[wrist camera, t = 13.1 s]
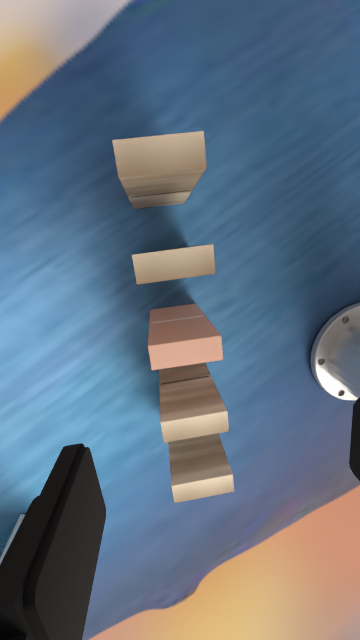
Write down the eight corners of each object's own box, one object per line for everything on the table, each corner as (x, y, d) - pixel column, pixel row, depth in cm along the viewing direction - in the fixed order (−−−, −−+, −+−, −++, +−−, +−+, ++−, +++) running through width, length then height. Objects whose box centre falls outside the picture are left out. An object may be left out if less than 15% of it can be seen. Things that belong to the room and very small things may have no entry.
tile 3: (150, 309, 27) (147, 345, 17) (195, 303, 28) (221, 335, 17) (152, 325, 28) (151, 370, 17) (197, 319, 28) (223, 360, 18)
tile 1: (130, 188, 24) (112, 139, 14) (181, 182, 24) (203, 130, 14) (133, 209, 25) (118, 177, 14) (184, 203, 25) (206, 167, 14)
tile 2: (140, 253, 26) (131, 254, 15) (189, 246, 26) (213, 243, 15) (143, 271, 26) (136, 284, 16) (191, 264, 27) (215, 273, 16)
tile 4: (158, 360, 29) (160, 422, 18) (200, 353, 29) (227, 410, 19) (160, 374, 29) (164, 442, 19) (202, 367, 30) (228, 431, 19)
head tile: (165, 404, 31) (171, 485, 20) (205, 398, 31) (232, 474, 20) (167, 417, 31) (174, 503, 21) (207, 410, 31) (234, 491, 21)
